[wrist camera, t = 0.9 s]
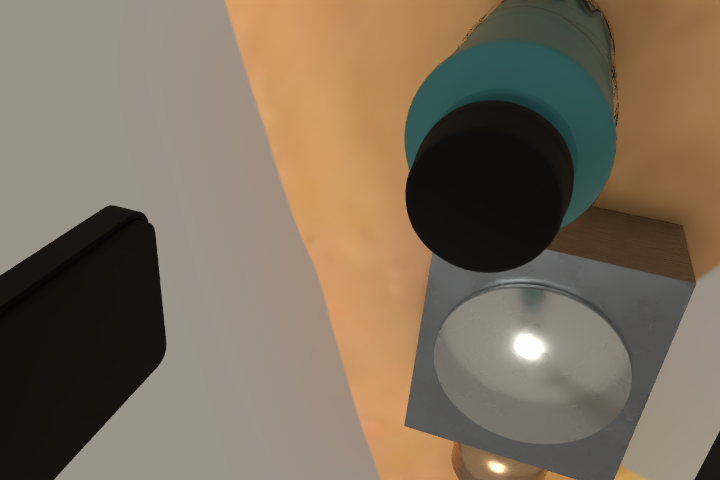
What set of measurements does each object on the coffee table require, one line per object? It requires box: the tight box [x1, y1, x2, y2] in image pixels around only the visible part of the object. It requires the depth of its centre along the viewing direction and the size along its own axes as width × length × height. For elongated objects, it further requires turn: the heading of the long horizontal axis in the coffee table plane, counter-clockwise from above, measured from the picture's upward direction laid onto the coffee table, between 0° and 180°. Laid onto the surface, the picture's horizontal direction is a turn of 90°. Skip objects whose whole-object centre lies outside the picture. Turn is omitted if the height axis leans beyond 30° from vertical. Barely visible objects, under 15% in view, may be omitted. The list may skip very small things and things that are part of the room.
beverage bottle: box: [405, 0, 619, 273], centre depth 23 cm, size 6×7×20 cm
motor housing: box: [404, 206, 696, 480], centre depth 37 cm, size 18×12×6 cm, turn 176°
